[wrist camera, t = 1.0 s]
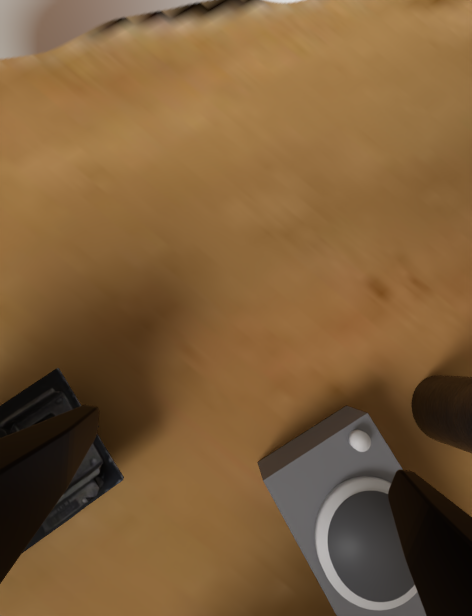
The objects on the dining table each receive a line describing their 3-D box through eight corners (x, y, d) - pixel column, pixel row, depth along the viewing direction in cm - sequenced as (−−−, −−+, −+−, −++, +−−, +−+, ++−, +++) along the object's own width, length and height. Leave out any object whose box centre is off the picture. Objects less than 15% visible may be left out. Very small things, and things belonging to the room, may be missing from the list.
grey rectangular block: (439, 558, 21) (494, 608, 17) (347, 626, 20) (380, 699, 16) (346, 405, 23) (374, 415, 18) (257, 462, 22) (265, 486, 18)
